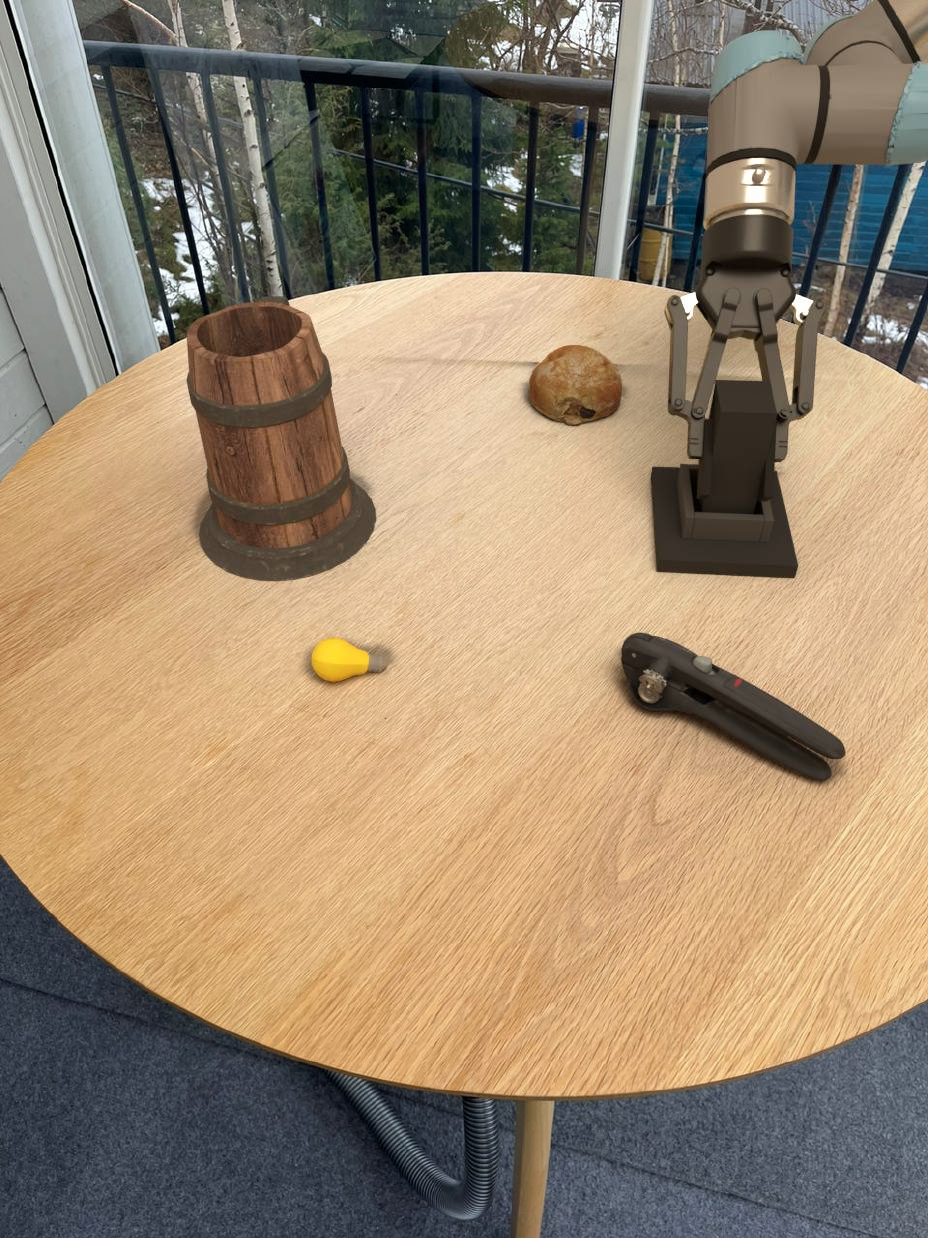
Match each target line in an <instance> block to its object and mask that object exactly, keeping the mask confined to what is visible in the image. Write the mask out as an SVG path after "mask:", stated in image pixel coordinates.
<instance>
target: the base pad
mask: <svg viewBox="0 0 928 1238" xmlns="http://www.w3.org/2000/svg"><path fill="white" fill-rule="evenodd" d="M698 467H699V463H698V464H697V463H689V464H688V463H680V464H679V467H678V466H652V467H651V472H650V491H651V505H652V521H653V536H654V549H655V551H654V552H655V565H656V568H655V569H656V572H657V573H678V574H679V573H681V574H699V575H700V574H702V575H720V576H722V575H723V576H742V577H743V576H744V577H761V578H762V577H764V578H782V579H783V578H785V579H795V578H796V576H797V572H798V568H799V561H798V558H797V554H796V549H795V544H794V540H793V536H792V532H791V527H790V523H789V518H788V513H787V510H786V504H785V501H784V496H783V493H782V488H781V483H780V479H779V474H778V471H777V470H774V490H773V498H771V499H770V500H768V501H766V502H760V501H757V500H756V505H755V509H754V513H753V514H730V513H706V512H700V504H699V499H697V481H698Z"/></svg>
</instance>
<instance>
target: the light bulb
mask: <svg viewBox="0 0 928 1238" xmlns="http://www.w3.org/2000/svg"><path fill="white" fill-rule="evenodd" d="M387 664H388V661H386V660H385V658H384V657H383V656H382V655H381V654H380V655H379V654H372V653H371V654H369V652H367V651H366V650H364V649H360V648H357V646H354V645H353V644H351V643H350V642H349V641H346V640H345V639H343V638H341V637H337V636H335V637H327V638H325V639H322V640H321V641H320V642H318V643H317V644H316V645H315V647H314V648H313V650H312V654H311V666H312V668H313V671H314V672H315V673H316V674H317V675H318V677H320V678H321V679H323V680H325V681H328V682H340V681H343V680H346V679H348V678H351V677H353V676H356V675H357V676H358V675H365V673H367V672H372V673H373V672H374V673H380V674H381V672H382V671H384V669H386V668H387V667H388V666H387Z"/></svg>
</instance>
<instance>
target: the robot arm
mask: <svg viewBox="0 0 928 1238" xmlns="http://www.w3.org/2000/svg"><path fill="white" fill-rule="evenodd" d="M805 47H806V48H804V49H805V50H804V51H803V48H802V46H801V44H800V42H799V41H798V40H797V39H796V38H795V36H793V35H790V34H781V33H780V31H778V30H772V29H770V30H767V29H766V30H757V31H752V32H748V33H746V34H743V35H740V36H739V37H736V38H734V39H733V40H731V41H730V42H729V43H727V44H726V45H725V46H724V47H723V48H722V49H721V51H719V53H718V55H717V56H716V58H715V60H714V63H713V66H712V76H711V84H710V94H709V96H710V97H709V103H708V108H707V115H708V117H707V142H706V143H707V144H706V145H707V146H706V167H705V168H706V170H705V171H706V173H705V189H704V203H703V205H704V206H703V220H702V222H703V223H702V225H703V229H704V230H705V231H704V232H703V235H702V242H701V243H702V244H701V262H700V277H699V283H698V284H697V286H696V287H695V290H694V291H693V292H691V293H688V294H686V295H683V296H680V295H677V294H672V295H671V296H669V297H668V298H667V301H666V305H665V307H664V310H663V313H664V317H665V320H666V322H667V325H668V329H669V333H670V334H669V336H670V337H669V362H668V364H669V365H668V386H667V387H668V388H667V389H668V391H667V412H668V414H669V415H670V416H674V417H678V418H681V419H683V420H685V421H686V423H687V441H686V442H687V443H686V446H687V447H686V455H687V458H688V460H698V464H699V467H698V486H697V499H707V498H708V497H709V496H710V495H711V480H712V461H713V458H712V452H713V432H714V419H709V418H706V414H707V410H708V407H709V405H710V400H711V397H712V395H713V391H714V386H715V381H716V380H717V375H718V372H719V369H720V365H721V362H722V358H723V354H724V352H725V349H726V344H727V341H728V340H733V339H737V338H743V339H745V340H752V342H753V347H754V351H755V352H756V354H757V360H758V365H759V370H760V376H761V381H769V382H770V386H771V390H772V394H773V398H774V402H775V406H776V410H777V416H776V420H775V425H774V429H773V433H772V437H771V442H770V446H769V450H768V454H767V458H766V461H765V465H764V470H763V474H762V478H761V482H760V487H759V491H758V495H757V501H760V502H766V501H768V500H770V499H771V498H773V490H774V471H775V467H776V466H775V465H776V463H782V462H784V461H785V460H786V458H787V455H788V451H789V447H788V446H789V429H790V423H792V422H794V421H800V420H802V419H804V418H805V417H806V416H808V415H809V414H810V413H811V412H812V410H813V407H814V395H815V380H816V379H815V378H816V365H817V364H816V363H817V350H818V349H817V348H818V333H819V331H818V330H819V325H820V322H821V320H822V318H823V316H824V313H825V311H826V310H827V309H826V308H827V303H828V302H827V301H826V299H824V298H823V297H817V298H815V299H814V300H813V299H810V298H807V297H805V296H802V295H800V294H798V293H797V289H796V286H795V284H794V282H793V278H792V267H793V265H792V264H793V247H794V245H793V243H794V228H793V227H792V226H791V225H792V224H793V222H794V220H795V202H796V201H795V200H796V199H795V198H796V176H797V165H855V166H856V165H857V166H861V165H862V166H863V165H865V166H866V165H867V166H869V165H870V166H871V165H872V166H873V165H874V166H886V167H892V166H897V165H909V164H921V163H924V162H927V161H928V0H872V1H870V2H869V3H867V4H866V5H865V6H864V7H863V8H861V10H859V11H858V12H857V13H855V14H845V15H844V14H843V15H840V16H837V17H834V18H832V19H830V20H828V21H827V22H825V23H824V24H822V25H821V26H820V27H819V28H818V29H817V30H816V31H815V32H814V33H813V35H812V36H811V38H809V40H808V43H807V44H806V46H805ZM695 308H697V309H698V311H699V312H700V314H701V316H703V318H704V319H705V321H706V323H707V324H708V325H709V328H711V332H710V336H709V340H708V344H707V348H706V352H705V355H704V359H703V362H702V366H701V370H700V373H699V376H698V380H697V383H696V387H695V390H694V393H693V396H692V401H690V400H687V368H688V344H689V342H688V341H689V322H690V321H691V320H692V318H693V315H694V309H695ZM789 310H791V311H792V313H793V323H794V324H795V325H797V326H798V327H797V330H796V335H795V343H794V344H795V346H794V347H795V348H794V359H793V360H794V362H793V375H792V377H793V378H792V392H791V393H792V394H791V404H790V401H789V396H788V390H787V384H786V380H785V374H784V369H783V364H782V357H781V353H780V347H779V342H778V341H779V332H778V326H777V324H778V323H779V321H780V320H781V318H782V317H784V315H785V314H786V312H787V311H789Z"/></svg>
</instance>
